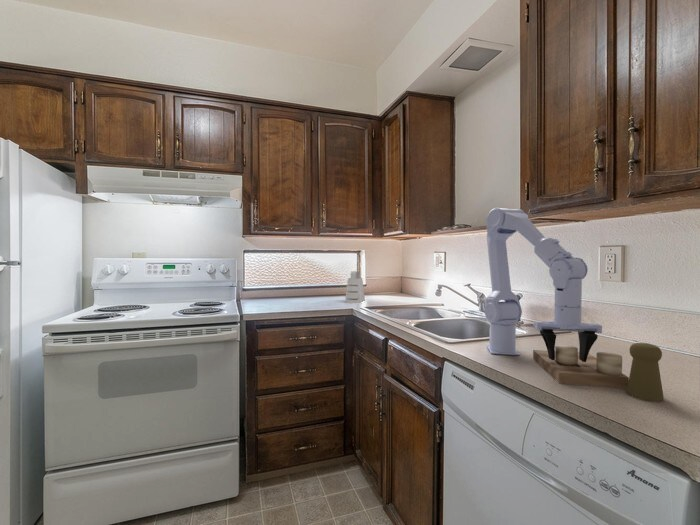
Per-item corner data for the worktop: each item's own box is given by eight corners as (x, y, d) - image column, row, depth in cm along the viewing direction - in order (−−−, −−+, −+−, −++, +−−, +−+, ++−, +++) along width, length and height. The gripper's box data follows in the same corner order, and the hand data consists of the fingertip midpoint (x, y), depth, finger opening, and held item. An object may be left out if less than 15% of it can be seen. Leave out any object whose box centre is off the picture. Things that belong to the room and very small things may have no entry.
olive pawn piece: (626, 388, 77) (627, 339, 77) (663, 395, 74) (663, 343, 73) (626, 396, 73) (626, 344, 72) (665, 404, 69) (665, 349, 69)
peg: (553, 369, 90) (552, 344, 90) (574, 370, 89) (573, 345, 89) (559, 375, 85) (558, 349, 85) (581, 376, 84) (580, 350, 84)
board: (533, 358, 100) (533, 336, 100) (587, 361, 97) (587, 338, 97) (559, 383, 80) (559, 355, 80) (628, 388, 77) (628, 359, 77)
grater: (344, 303, 220) (344, 271, 220) (349, 301, 230) (350, 271, 230) (360, 303, 217) (360, 271, 216) (365, 301, 227) (365, 271, 226)
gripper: (541, 307, 84) (540, 362, 85) (608, 309, 81) (608, 366, 82) (532, 303, 91) (532, 354, 92) (594, 305, 88) (593, 358, 88)
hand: (567, 359), depth 87 cm, fingers open, 6 cm apart
